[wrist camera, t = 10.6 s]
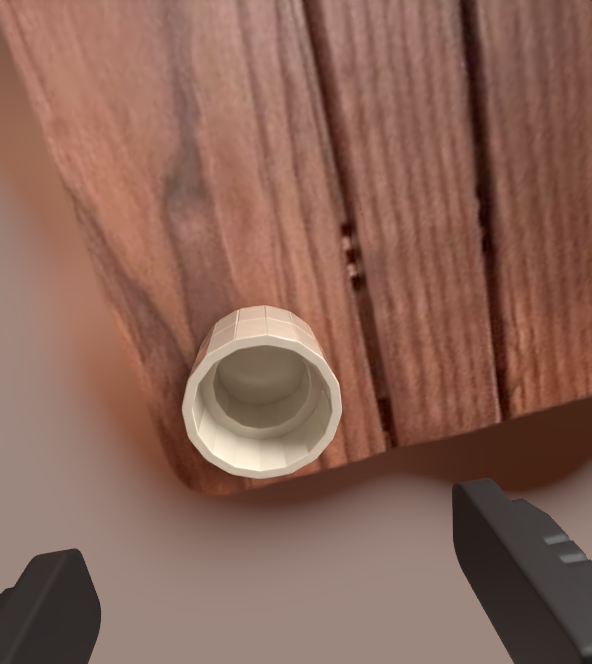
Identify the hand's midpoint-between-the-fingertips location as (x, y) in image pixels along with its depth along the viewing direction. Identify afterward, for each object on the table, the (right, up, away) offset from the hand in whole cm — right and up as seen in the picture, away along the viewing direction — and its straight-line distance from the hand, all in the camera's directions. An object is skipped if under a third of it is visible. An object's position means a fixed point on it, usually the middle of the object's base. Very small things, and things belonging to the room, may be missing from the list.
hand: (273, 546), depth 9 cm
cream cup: (-1, +3, +11) cm, 12 cm away
